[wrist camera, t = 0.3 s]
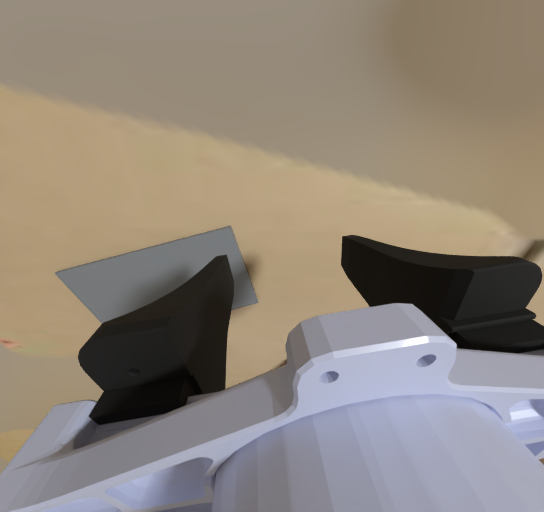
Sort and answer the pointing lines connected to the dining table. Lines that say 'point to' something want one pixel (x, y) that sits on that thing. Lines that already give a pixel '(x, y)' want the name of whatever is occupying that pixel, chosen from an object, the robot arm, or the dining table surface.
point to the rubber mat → (155, 274)
